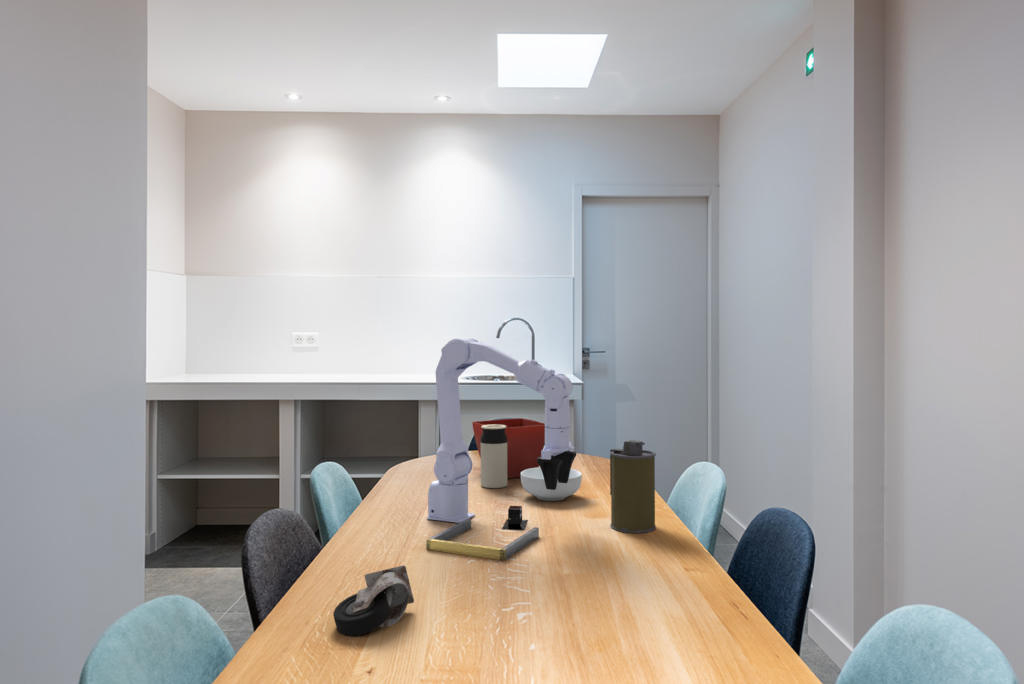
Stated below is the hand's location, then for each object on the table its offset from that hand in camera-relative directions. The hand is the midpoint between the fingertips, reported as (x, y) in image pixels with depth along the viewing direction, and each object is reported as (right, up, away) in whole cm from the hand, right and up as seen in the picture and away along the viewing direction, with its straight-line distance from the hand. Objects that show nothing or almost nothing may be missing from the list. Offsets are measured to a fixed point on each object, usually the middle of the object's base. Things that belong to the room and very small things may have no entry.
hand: (557, 485), depth 157 cm
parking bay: (-16, -10, -10) cm, 21 cm away
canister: (+18, -10, +1) cm, 20 cm away
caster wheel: (-32, -11, -52) cm, 62 cm away
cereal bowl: (0, -10, +31) cm, 33 cm away
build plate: (-10, -11, +4) cm, 15 cm away
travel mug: (-16, -10, +46) cm, 50 cm away
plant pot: (-11, -10, +64) cm, 66 cm away
